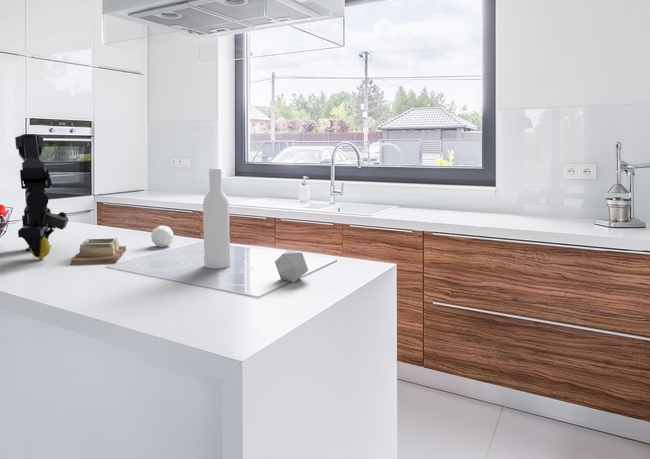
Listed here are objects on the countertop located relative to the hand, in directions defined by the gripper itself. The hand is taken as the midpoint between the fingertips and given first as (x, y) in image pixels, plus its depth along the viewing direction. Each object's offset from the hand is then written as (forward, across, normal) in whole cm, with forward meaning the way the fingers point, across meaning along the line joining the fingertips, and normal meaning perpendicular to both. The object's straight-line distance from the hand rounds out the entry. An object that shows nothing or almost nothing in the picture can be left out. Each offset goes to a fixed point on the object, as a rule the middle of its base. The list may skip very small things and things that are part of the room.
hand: (40, 254), depth 166 cm
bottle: (+2, -18, -55) cm, 58 cm away
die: (+2, -38, -75) cm, 84 cm away
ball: (+2, +16, -36) cm, 39 cm away
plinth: (+2, +1, -18) cm, 18 cm away
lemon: (+2, 0, 0) cm, 2 cm away
